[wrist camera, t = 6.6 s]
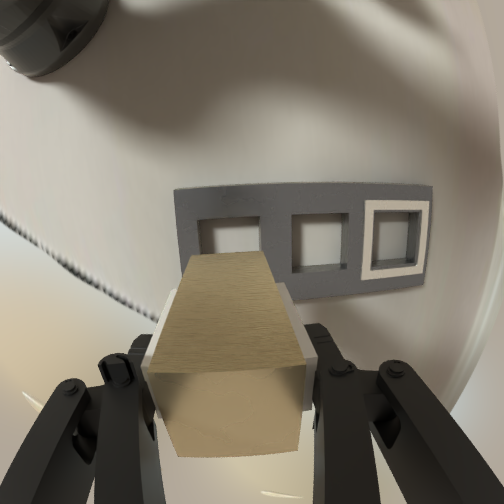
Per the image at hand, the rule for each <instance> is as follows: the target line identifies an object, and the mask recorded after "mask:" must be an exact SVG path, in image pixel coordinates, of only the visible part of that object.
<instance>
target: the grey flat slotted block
mask: <svg viewBox="0 0 504 504" xmlns="http://www.w3.org/2000/svg"><path fill="white" fill-rule="evenodd" d="M432 188H433V186H427V185H417V184H398V183H370V182H284V183H255V184H235V185H218V186H204V187H191V188H179V189H175V190H174V203H175V214H176V225H177V236H178V245H179V254H180V263H181V271H182V277H183V274H184V272H185V269H186V267H187V264H188V262H189V259H190V257H191V255H202V248H201V236H200V224H199V220H202V219H217V218H233V217H251V216H258V220H259V247H260V251H263V252H264V255H265V257H266V260H267V263H268V265H269V268H270V270H271V273H272V275H273V278H274V281H275V283H282V282H284V283H285V286H286V288H287V290H288V292H289V294H290V296H291V299H292V300H302V299H313V298H323V297H332V296H342V295H351V294H359V293H367V292H375V291H383V290H391V289H398V288H405V287H412V286H419V285H423V284H424V277H425V271H426V264H427V256H428V247H429V238H430V226H431V212H432ZM375 212H409V227H408V240H407V251H406V258H400V259H388V260H377V261H372V254H373V240H374V219H375ZM321 213H342V234H341V260H340V263H339V264H326V265H313V266H299V267H292V221H291V215H293V214H321Z"/></svg>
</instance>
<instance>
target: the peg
mask: <svg viewBox="0 0 504 504" xmlns="http://www.w3.org/2000/svg"><path fill="white" fill-rule="evenodd" d="M306 366H307V364H306V361H305V359H304V356H303V353H302V351H301V348H300V346H299V343H298V340H297V338H296V335H295V332H294V330H293V327H292V325H291V322H290V319H289V317H288V314H287V312H286V309H285V306H284V304H283V301H282V299H281V296H280V293H279V291H278V288H277V286H276V283H275V281H274V278H273V275H272V273H271V270H270V268H269V265H268V263H267V260H266V257H265V255H264V252H263V251H251V252H235V253H219V254H202V255H191V257H190V259H189V262H188V264H187V267H186V269H185V272H184V274H183V277H182V279H181V282H180V284H179V287H178V289H177V292H176V294H175V297H174V299H173V302H172V305H171V307H170V310H169V313H168V315H167V318H166V320H165V323H164V326H163V329H162V331H161V334H160V337H159V339H158V342H157V345H156V348H155V351H154V353H153V356H152V359H151V362H150V365H149V368H148V371H147V375H148V378H149V381H150V384H151V387H152V390H153V393H154V396H155V399H156V402H157V405H158V407H159V410H160V413H161V416H162V418H163V421H164V423H165V426H166V429H167V431H168V434H169V436H170V439H171V441H172V444H173V446H174V448H175V450H176V453H177V455H178V457H239V456H253V455H266V454H275V453H284V452H291V451H297V450H298V443H299V435H300V427H301V418H302V409H303V399H304V389H305V378H306Z"/></svg>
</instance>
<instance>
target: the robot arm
mask: <svg viewBox="0 0 504 504" xmlns="http://www.w3.org/2000/svg"><path fill="white" fill-rule="evenodd" d="M107 8H108V0H0V54H1V55H2V56H3V57H4V58H5V59H6V62H7V64H8V65H9V66H10V68H11V69H13V70H14V71H16V72H18V73H20V74H23V75H26V76H30V77H37V76H42V75H45V74H48V73H50V72H53V71H55V70H56V69H58V68H60V67H61V66H63V65H64V64H66V63H67V62H68V61H70V60H71V59H72V58H73V57H74V56H76V55H77V54H78V53H79V52H80V51H81V50H82V49H83V48H84V47H85V46H86V45H87V43H88V42H89V41H90V40H91V38H92V37H93V36H94V34H95V33H96V32H97V30H98V28H99V27H100V25H101V23H102V21H103V19H104V17H105V14H106V11H107ZM276 286H277V288H278V291H279V293H280V296H281V299H282V301H283V304H284V306H285V309H286V312H287V314H288V317H289V319H290V322H291V325H292V327H293V330H294V332H295V335H296V338H297V340H298V343H299V346H300V348H301V351H302V353H303V356H304V359H305V361H306V364H307V366H306V378H305V389H304V399H303V409H302V411H308V410H312V403H314V406H315V416H314V423H313V429H314V487H313V504H381V503H380V493H379V485H378V477H377V470H376V464H375V458H374V451H373V445H372V439H371V433H372V434H373V437H374V438H375V440H376V442H377V444H378V446H379V448H380V450H381V452H382V454H383V456H384V458H385V460H386V462H387V464H388V466H389V468H390V470H391V472H392V474H393V476H394V478H395V480H396V482H397V484H398V486H399V488H400V490H401V492H402V494H403V496H404V498H405V500H406V502H407V504H504V487H503V485H502V484H501V483H500V481H499V480H498V478H497V477H496V475H495V474H494V473H493V471H492V470H491V468H490V467H489V465H488V464H487V463H486V461H485V460H484V459H483V457H482V456H481V454H480V453H479V452H478V451H477V449H476V448H475V446H474V445H473V444H472V442H471V441H470V440H469V439H468V437H467V436H466V434H465V433H464V432H463V431H462V429H461V428H460V427H459V426H458V424H457V423H456V422H455V420H454V419H453V418H452V417H451V415H450V414H449V413H448V411H447V410H446V409H445V408H444V406H443V405H442V404H441V403H440V401H439V400H438V399H437V398H436V396H435V395H434V394H433V393H432V391H431V390H430V389H429V388H428V387H427V385H426V384H425V383H424V382H423V380H422V379H421V378H420V377H419V376H418V374H417V373H416V372H415V371H414V370H413V368H412V367H411V366H410V365H408V364H407V363H405V362H403V361H400V360H388V361H386V362H383V363H382V364H381V365H380V367H379V371H365V370H359V369H357V367H356V366H355V364H353V363H352V362H351V361H348V360H345V359H344V358H343V356H342V355H341V353H340V351H339V349H338V348H337V346H336V344H335V342H334V341H333V339H332V337H331V336H330V333H329V332H328V330H327V328H325V327H324V326H322V325H321V324H319V323H316V324H307V325H303V323H302V320H301V318H300V316H299V314H298V312H297V309H296V307H295V305H294V303H293V301H292V299H291V296H290V294H289V292H288V290H287V288H286V286H285V283H284V282H282V283H276ZM176 292H177V289H172V290H171V293H170V295H169V297H168V300H167V302H166V304H165V307H164V309H163V311H162V314H161V316H160V319H159V321H158V324H157V326H156V328H155V331H154V333H153V334H141V335H140V336H138V338H136V339H135V340H134V341H133V343H132V345H131V349H129V352H128V354H124V353H115V354H110V355H108V356H106V357H104V358H103V359H102V360H100V362H99V364H98V367H99V370H100V372H101V375H102V377H103V380H104V382H105V385H101V386H96V387H89V388H87V387H86V385H85V383H84V382H83V381H82V380H80V379H77V378H73V379H67V380H65V381H63V382H61V383H60V384H59V385H58V386H57V387H56V389H55V390H54V392H53V394H52V395H51V397H50V398H49V400H48V401H47V403H46V404H45V406H44V408H43V409H42V411H41V413H40V414H39V416H38V418H37V419H36V421H35V422H34V424H33V426H32V428H31V429H30V431H29V433H28V434H27V436H26V438H25V440H24V442H23V443H22V445H21V447H20V449H19V451H18V452H17V454H16V456H15V458H14V460H13V462H12V463H11V465H10V468H9V469H8V471H7V473H6V475H5V477H4V479H3V481H2V484H1V485H0V504H86V502H87V499H88V496H89V493H90V489H91V486H92V483H93V480H94V477H95V488H94V504H166V501H165V495H164V488H163V482H162V475H161V467H160V459H159V450H158V441H157V430H156V424H155V422H154V419H153V417H154V413H155V410H156V413H157V415H158V418H162V416H161V413H160V410H159V407H158V405H157V402H156V399H155V396H154V393H153V390H152V387H151V384H150V381H149V378H148V375H147V371H148V368H149V365H150V362H151V359H152V356H153V353H154V351H155V348H156V345H157V342H158V339H159V337H160V334H161V331H162V329H163V326H164V323H165V320H166V318H167V315H168V313H169V310H170V307H171V305H172V302H173V299H174V297H175V294H176ZM370 431H371V433H370Z"/></svg>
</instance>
